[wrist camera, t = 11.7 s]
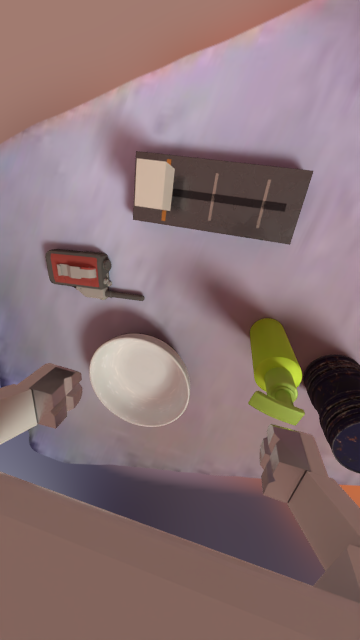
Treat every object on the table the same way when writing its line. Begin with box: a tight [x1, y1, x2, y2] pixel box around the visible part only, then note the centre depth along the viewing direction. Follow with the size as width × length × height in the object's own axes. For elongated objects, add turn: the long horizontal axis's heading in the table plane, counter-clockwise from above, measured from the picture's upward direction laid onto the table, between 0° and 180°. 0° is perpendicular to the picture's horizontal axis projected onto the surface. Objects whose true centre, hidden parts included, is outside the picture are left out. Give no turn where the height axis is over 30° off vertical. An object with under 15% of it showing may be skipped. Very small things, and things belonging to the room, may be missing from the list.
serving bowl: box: [89, 334, 190, 427], centre depth 48 cm, size 21×21×7 cm
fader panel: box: [133, 151, 313, 244], centre depth 34 cm, size 24×9×3 cm, turn 82°
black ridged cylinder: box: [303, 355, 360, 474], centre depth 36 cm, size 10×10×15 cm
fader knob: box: [135, 158, 175, 211], centre depth 31 cm, size 4×5×7 cm
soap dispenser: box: [248, 318, 305, 426], centre depth 33 cm, size 6×7×20 cm
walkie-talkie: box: [46, 249, 144, 301], centre depth 44 cm, size 9×4×20 cm
